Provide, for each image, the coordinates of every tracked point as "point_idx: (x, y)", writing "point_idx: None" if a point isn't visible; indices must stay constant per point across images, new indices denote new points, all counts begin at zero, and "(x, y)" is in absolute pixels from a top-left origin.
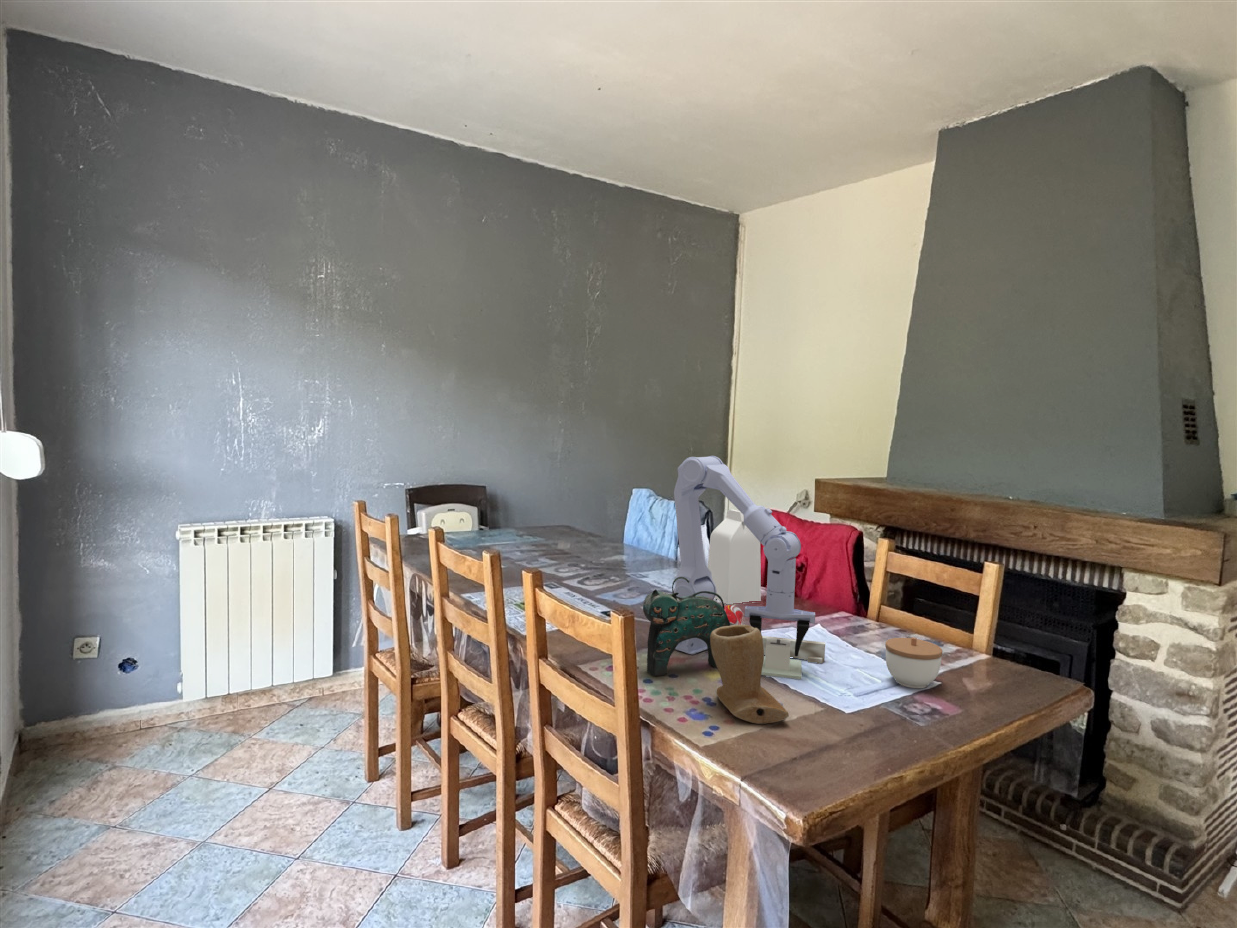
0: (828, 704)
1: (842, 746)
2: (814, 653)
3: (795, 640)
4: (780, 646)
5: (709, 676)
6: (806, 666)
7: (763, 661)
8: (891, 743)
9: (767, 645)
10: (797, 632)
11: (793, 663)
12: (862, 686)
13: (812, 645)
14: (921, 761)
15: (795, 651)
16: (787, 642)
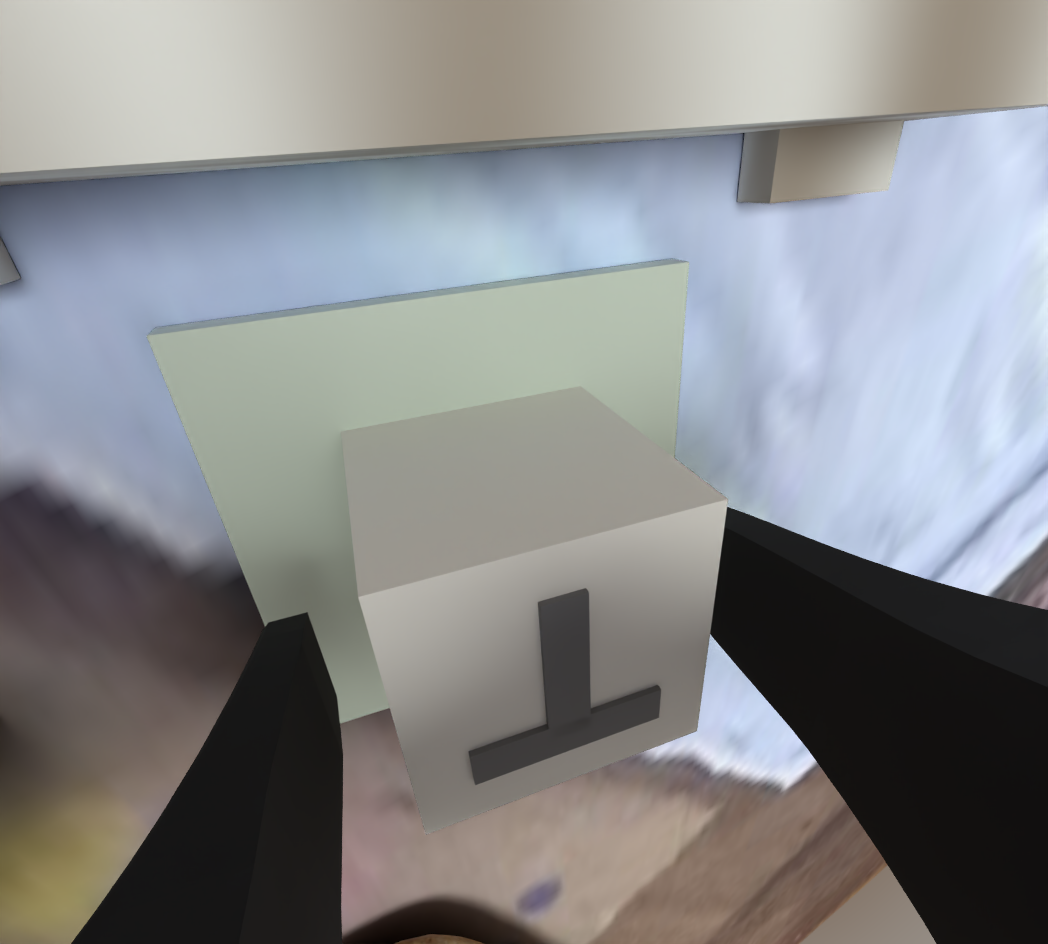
0: (739, 773)
1: (724, 939)
2: (867, 121)
3: (768, 58)
4: (595, 767)
5: (17, 923)
6: (708, 330)
7: (331, 490)
8: (847, 853)
9: (443, 817)
10: (916, 898)
11: (615, 394)
12: (946, 511)
13: (938, 112)
14: (876, 872)
15: (715, 632)
16: (678, 618)
